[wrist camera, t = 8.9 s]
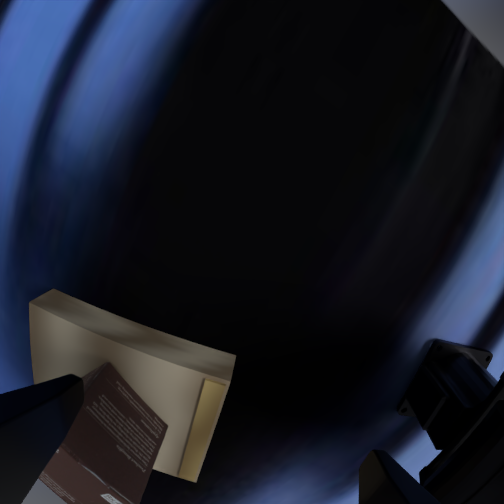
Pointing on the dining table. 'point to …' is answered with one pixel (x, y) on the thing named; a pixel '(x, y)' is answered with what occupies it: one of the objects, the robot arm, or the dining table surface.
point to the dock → (137, 370)
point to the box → (106, 444)
